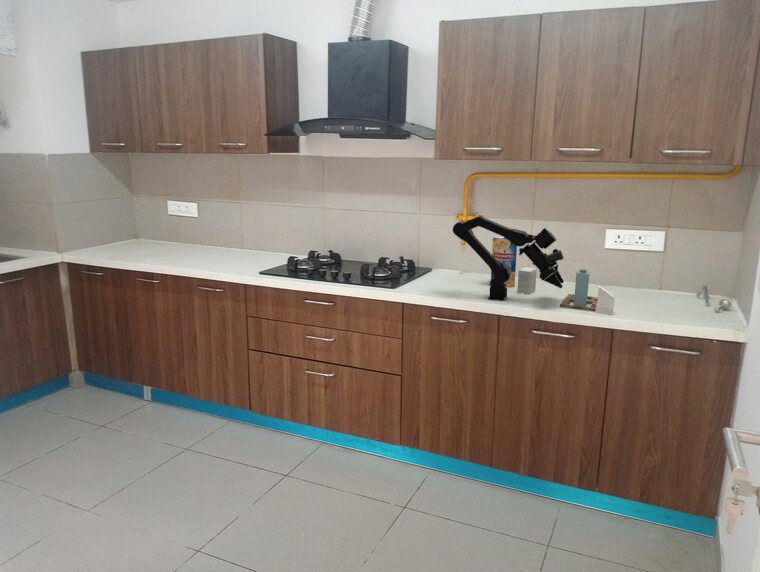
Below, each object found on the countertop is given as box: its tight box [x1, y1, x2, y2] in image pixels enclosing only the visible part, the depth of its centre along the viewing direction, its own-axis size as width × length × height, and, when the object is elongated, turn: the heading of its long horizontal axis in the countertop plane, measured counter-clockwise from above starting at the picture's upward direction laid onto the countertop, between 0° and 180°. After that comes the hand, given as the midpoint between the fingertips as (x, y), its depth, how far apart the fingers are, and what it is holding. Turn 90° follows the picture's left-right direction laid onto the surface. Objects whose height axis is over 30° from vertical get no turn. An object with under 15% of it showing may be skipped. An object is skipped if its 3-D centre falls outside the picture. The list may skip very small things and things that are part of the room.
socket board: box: [559, 293, 601, 312], centre depth 237 cm, size 14×19×2 cm
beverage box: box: [490, 236, 518, 288], centre depth 266 cm, size 7×11×22 cm, turn 76°
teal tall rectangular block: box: [573, 268, 590, 307], centre depth 232 cm, size 4×4×15 cm
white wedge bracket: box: [594, 285, 615, 316], centre depth 224 cm, size 4×10×9 cm, turn 56°
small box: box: [517, 266, 538, 295], centre depth 255 cm, size 8×6×10 cm
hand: (562, 285), depth 235 cm, fingers open, 9 cm apart
